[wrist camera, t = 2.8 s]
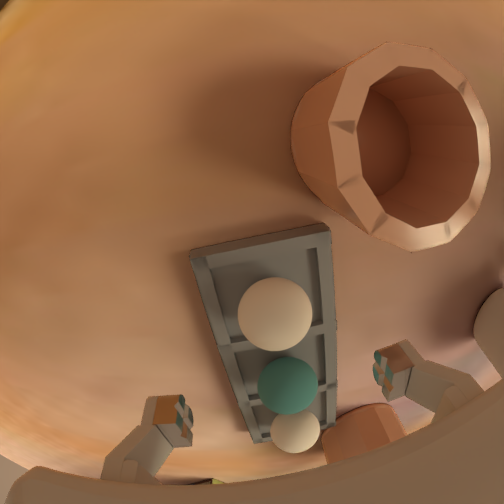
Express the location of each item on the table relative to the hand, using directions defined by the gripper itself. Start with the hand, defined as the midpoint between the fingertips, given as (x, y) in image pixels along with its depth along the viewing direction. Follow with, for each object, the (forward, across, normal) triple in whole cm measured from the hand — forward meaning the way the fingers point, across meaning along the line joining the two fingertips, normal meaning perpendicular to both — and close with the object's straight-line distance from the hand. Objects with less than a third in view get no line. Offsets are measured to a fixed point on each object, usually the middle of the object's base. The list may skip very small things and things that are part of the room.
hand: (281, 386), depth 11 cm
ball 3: (+5, 0, +12) cm, 13 cm away
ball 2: (+5, 0, +6) cm, 8 cm away
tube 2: (+8, -8, +20) cm, 23 cm away
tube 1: (+8, -8, -8) cm, 14 cm away
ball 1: (+5, 0, 0) cm, 5 cm away
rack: (+8, -1, +6) cm, 10 cm away
